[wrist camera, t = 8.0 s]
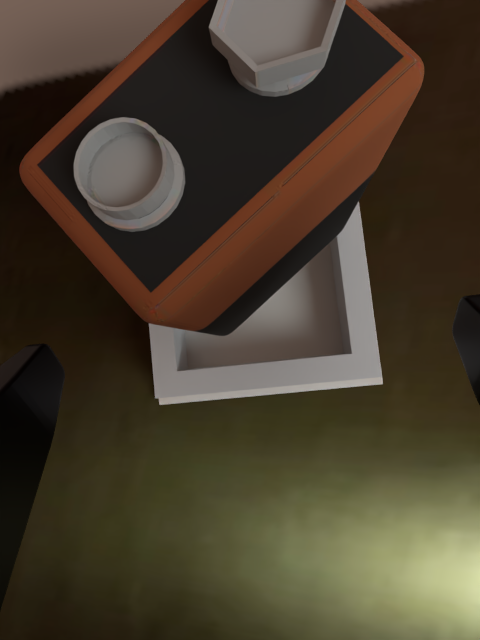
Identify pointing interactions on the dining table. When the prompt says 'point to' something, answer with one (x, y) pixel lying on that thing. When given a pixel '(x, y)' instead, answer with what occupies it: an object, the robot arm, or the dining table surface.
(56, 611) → the dining table surface
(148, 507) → the dining table surface
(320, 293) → the tray
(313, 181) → the battery
